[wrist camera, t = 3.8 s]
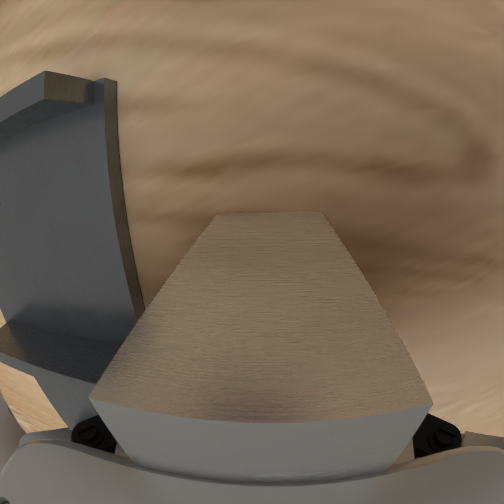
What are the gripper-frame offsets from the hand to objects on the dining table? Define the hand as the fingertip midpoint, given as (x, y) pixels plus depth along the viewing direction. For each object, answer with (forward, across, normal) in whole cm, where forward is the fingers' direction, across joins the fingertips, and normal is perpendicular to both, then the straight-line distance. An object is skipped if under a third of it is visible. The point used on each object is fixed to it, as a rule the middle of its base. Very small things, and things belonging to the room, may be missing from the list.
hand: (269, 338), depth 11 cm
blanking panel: (+2, 0, 0) cm, 2 cm away
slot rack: (+2, +12, +8) cm, 15 cm away
